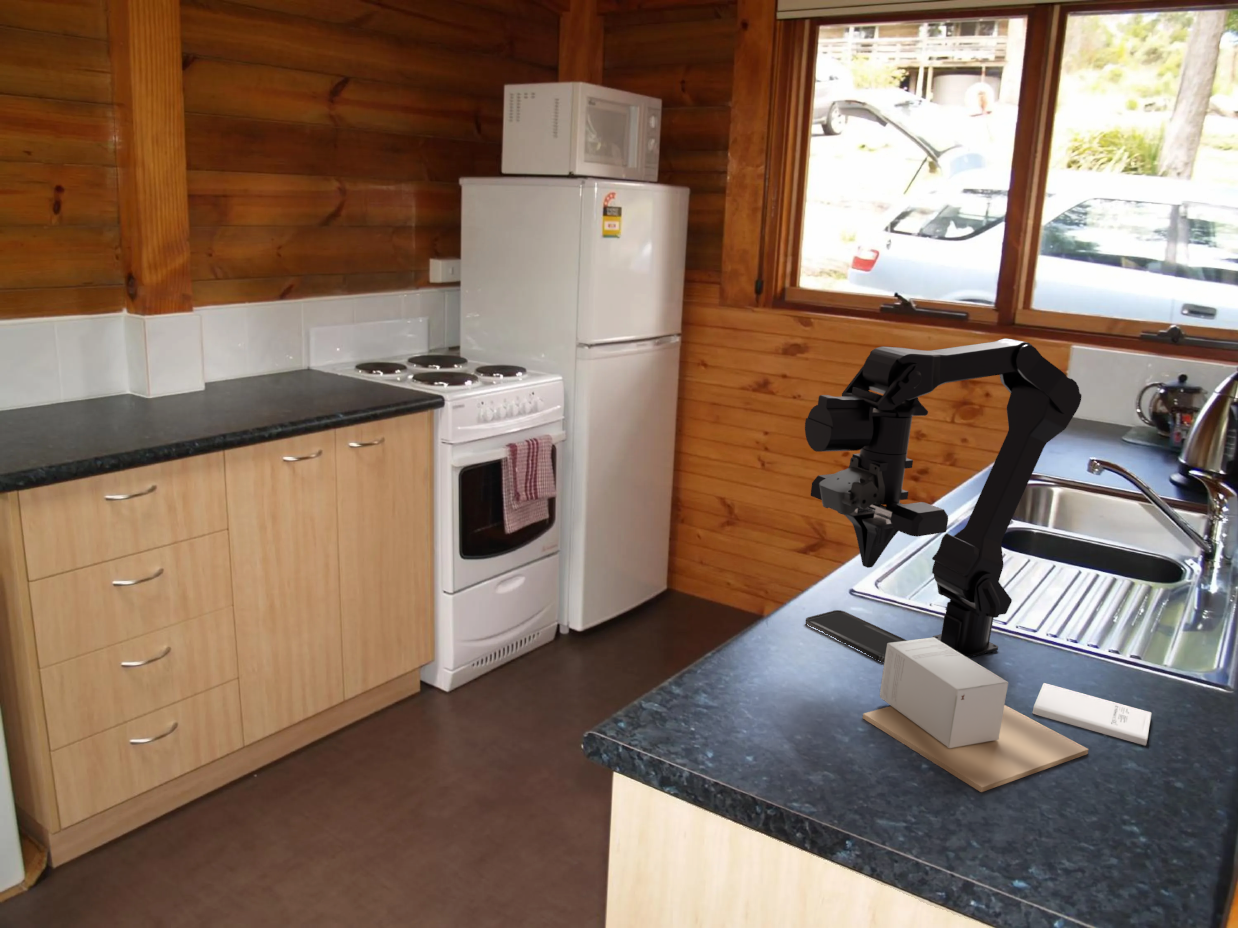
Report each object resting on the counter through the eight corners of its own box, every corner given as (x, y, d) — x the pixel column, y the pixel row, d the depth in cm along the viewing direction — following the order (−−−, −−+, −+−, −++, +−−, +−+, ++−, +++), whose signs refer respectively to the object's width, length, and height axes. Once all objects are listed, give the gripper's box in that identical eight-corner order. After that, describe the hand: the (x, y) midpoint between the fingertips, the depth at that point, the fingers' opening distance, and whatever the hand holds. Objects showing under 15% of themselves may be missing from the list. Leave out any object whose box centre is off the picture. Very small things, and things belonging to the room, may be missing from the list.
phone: (885, 659, 134) (802, 618, 145) (884, 667, 134) (801, 625, 145) (923, 647, 138) (840, 608, 150) (922, 654, 138) (839, 615, 150)
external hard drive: (1041, 692, 130) (1149, 722, 124) (1031, 718, 123) (1144, 750, 117) (1043, 681, 130) (1152, 710, 124) (1033, 705, 123) (1147, 737, 117)
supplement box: (877, 698, 123) (947, 750, 111) (886, 641, 121) (957, 688, 110) (926, 691, 125) (999, 741, 114) (936, 635, 124) (1010, 681, 112)
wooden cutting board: (966, 689, 128) (967, 684, 128) (1087, 753, 114) (1088, 749, 114) (862, 718, 119) (863, 713, 118) (981, 792, 105) (982, 786, 105)
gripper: (785, 436, 131) (772, 551, 135) (893, 472, 116) (875, 601, 120) (849, 431, 137) (835, 541, 141) (959, 465, 122) (940, 588, 125)
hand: (867, 566), depth 131 cm, fingers closed
